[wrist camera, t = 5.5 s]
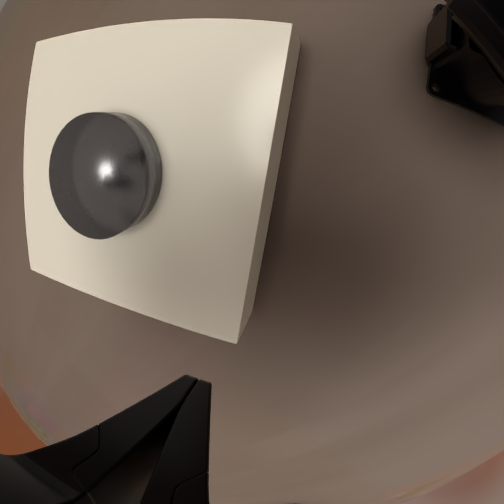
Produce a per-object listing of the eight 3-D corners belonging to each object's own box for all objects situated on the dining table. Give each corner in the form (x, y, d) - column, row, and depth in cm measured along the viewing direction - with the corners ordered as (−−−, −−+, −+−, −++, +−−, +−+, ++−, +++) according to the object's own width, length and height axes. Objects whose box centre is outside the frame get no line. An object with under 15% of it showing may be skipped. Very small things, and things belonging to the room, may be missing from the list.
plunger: (198, 117, 19) (149, 114, 14) (186, 221, 22) (139, 252, 16) (111, 111, 20) (51, 112, 15) (105, 203, 23) (50, 226, 17)
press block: (300, 44, 16) (292, 23, 12) (252, 311, 23) (236, 344, 19) (71, 47, 19) (36, 42, 15) (61, 252, 26) (30, 269, 22)
